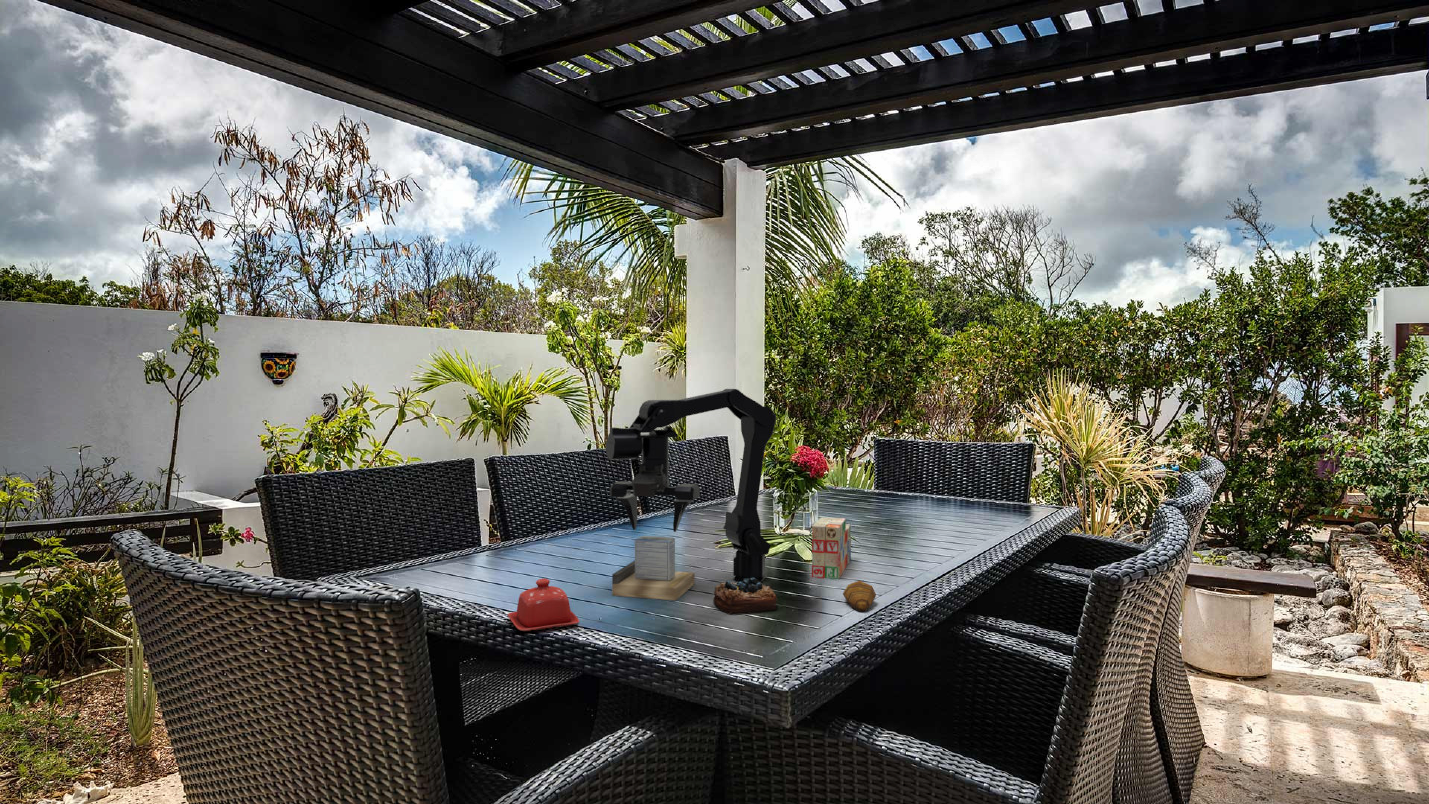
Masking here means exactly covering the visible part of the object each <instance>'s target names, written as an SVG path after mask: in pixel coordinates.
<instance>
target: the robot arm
mask: <svg viewBox="0 0 1429 804" xmlns="http://www.w3.org/2000/svg"><path fill="white" fill-rule="evenodd" d="M725 408H727V409H728V410H729V411H730V412H731V413H732V414H733V416H735V417H736V418H737V419H739V420H740V432H741V435H742V436H741V437H742V438H743V445H744V446H743V453H742V459H741V460H742V461H741V467H740V468H741V469H740V476H739V483H738V488H737V489H738V491H737V496H736V504H735V506H734V508H733V510H732V512H730V511H726V512H725V522H724V526H723V527H722V528H723V530H725V536H726V538H727V539H728V541H729V542H731V546H732V548H733V550H736V551H735V557H734V558H733V559H732V561H733V563H732V564H733V569H732V570H733V572H732V573H733V576H734V577H733V581H737V582H743V580H744V579H745V578H747V579H750V578H755V579H757V581H759V582H761V583H762V582H763V581H764V580H765V579H766V577H767V576H768V575H767V573H766V555H768V554H769V552H770V550H771V544H770V543H769V542H768V541H767V540H766V539H765V538H764V537H763V536H762V535H761V532H762V531H761V530H762V529H761V519H760V516H759V511H758V504H759V503H758V500H759V497H760V496H759V495H760V487H761V480H762V474H763V465H764V458H765V452H766V451H765V450H766V446H767V444H768V442H769V441H770V439H771V438H772V435H774V434H773V433H774V430H775V425H776V423H777V416H776V413H775V412H774V411H773V409H772V408H771V407H768V406H763V405H761V404H760V403H759V402H757V401H755V400H754V399H752V398H751V397H749V396H746V395H745V393H743V392H742V391H740V389H737V388H725V389H723V390H719V391H716V392H715V391H714V392H710V393H704V394H701V395H696V396H695V395H694V396H690V397H686V398H682V399H650V400H646V401H643V402H642V403H641V405H640V407H639V411H638V415H637V416H636V418H635V419H634V420H633V422H632V424H630V426H629V427H625V428H624V427H622V428H621V427H610V428H609V434H608V435H607V439H606V442H605V450H606V457H607V459H608V460H610V461H612V460H613V461H614V460H615V461H616V460H617V461H618V460H636V459H637V458H638V456H641V463H640V465H639V471H638V474H636V475H635V477H634V478H633V479H632V481H624V480H623V481H621V480H620V481H618V482H614V483H612V484H611V486H610V487H609V497H611V498H615V501H616V502H620V503H621V504H622V505H623V507H624V509H625V511H626V513H627V515H628V518H629V519H628V520H629V521H630V524H631V527H632V530H637V525H638V497H646V498H654V497H655V496H673V497H675V498H676V500H674V501H673V506H674V512H673V522H672V523H673V525H672V528H673V530H672V531H673V532H674V533H675V532H677V531H678V528H679V526H680V523H681V520H682V517H683V515H684V513H685V510H686V509H687V507H688V505H689V504H690V503H692V502H694V500H696V499H698V498H700V496H701V495H700V492H701V491H700V490H701V489H700V487H699V485H698V484H696V483H681V484H678V485H675V486H670V480H669V468H670V464H671V463H670V462H671V461H669V438H678V437H679V434H678V433H677V432H676V431H675V430H674V429H673V428H672V426H670V425H672V424H674V423H676V422H678V421H680V420H682V419H683V418H686V417H688V416H694V415H699V414H702V413H707V412H712V411H713V412H714V411H716V410H721V409H725ZM657 428H663V429H657ZM644 433H646V434H644Z"/></svg>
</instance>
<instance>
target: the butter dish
mask: <svg viewBox="0 0 1429 804" xmlns="http://www.w3.org/2000/svg"><path fill="white" fill-rule="evenodd" d="M550 582H551V581H550V579H548V578H539V579H537V580H536V581H535V585H536V586H535V587H531V588H529V589H526V590H524V591H522V592H521V593H520V594H519V596H518V601H517V607H516V611H513V612H509V613H507V617H508V618H509V620H510V621H511V623H513V625H514V626H515V628H516V629H517V630H519V631H521V632H532V631H531V630H534V631H540V630H539V629H542V630H547V629H546V628H549V629H554V628H553V627H557V628H561V627H560V626H565V627H568V626H572V625H577V624H579V623H580V620H579V618H578V616H577V615H576V614H575V613H574V612H573V611H572V610H571V605H570V601H569V597H568V596H567V593H566V592H565V591H564V590H563V589H562V588H560V587H559V586H558V587H557V586H553V585H550Z"/></svg>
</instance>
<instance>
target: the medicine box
mask: <svg viewBox="0 0 1429 804" xmlns="http://www.w3.org/2000/svg"><path fill="white" fill-rule="evenodd" d="M634 561H635V579H651V580H666V581H669V580H671V579H672V578H673V577H674V576H675V571H676V539H675V537H670V536H656V535H655V536H653V535H641V536H638V537H637V538H636V539H634Z"/></svg>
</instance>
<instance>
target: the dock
mask: <svg viewBox="0 0 1429 804" xmlns="http://www.w3.org/2000/svg"><path fill="white" fill-rule="evenodd" d="M695 573H696V572H690V571H689V572H688V571H676V570H675V576H674V577H673V578H672V579H671V580H669V581H666V580H651V579H635V560H633V561H632V562H630V563H628V564H626V565H625V566H624V567H622V568H620V569H618V570H617V571H615V572H614V573H612V574H611V575H612V579H611V580H612V581H611V582H612V583H611V584H612V586H611V587H612V588H611V589H612V590H611V591H612V593H611V594H612V595H614V597H615V596H616V597H625V598H627V597H628V598H639V599H640V598H641V599H654V600H665V601H666V600H667V601H677V600H678V599H679V598H680V597H682V595H684V594H685V593H686V592H688V590H690V589H691V588H692V587H693V586H694V585H695V581H696V577H695Z"/></svg>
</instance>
